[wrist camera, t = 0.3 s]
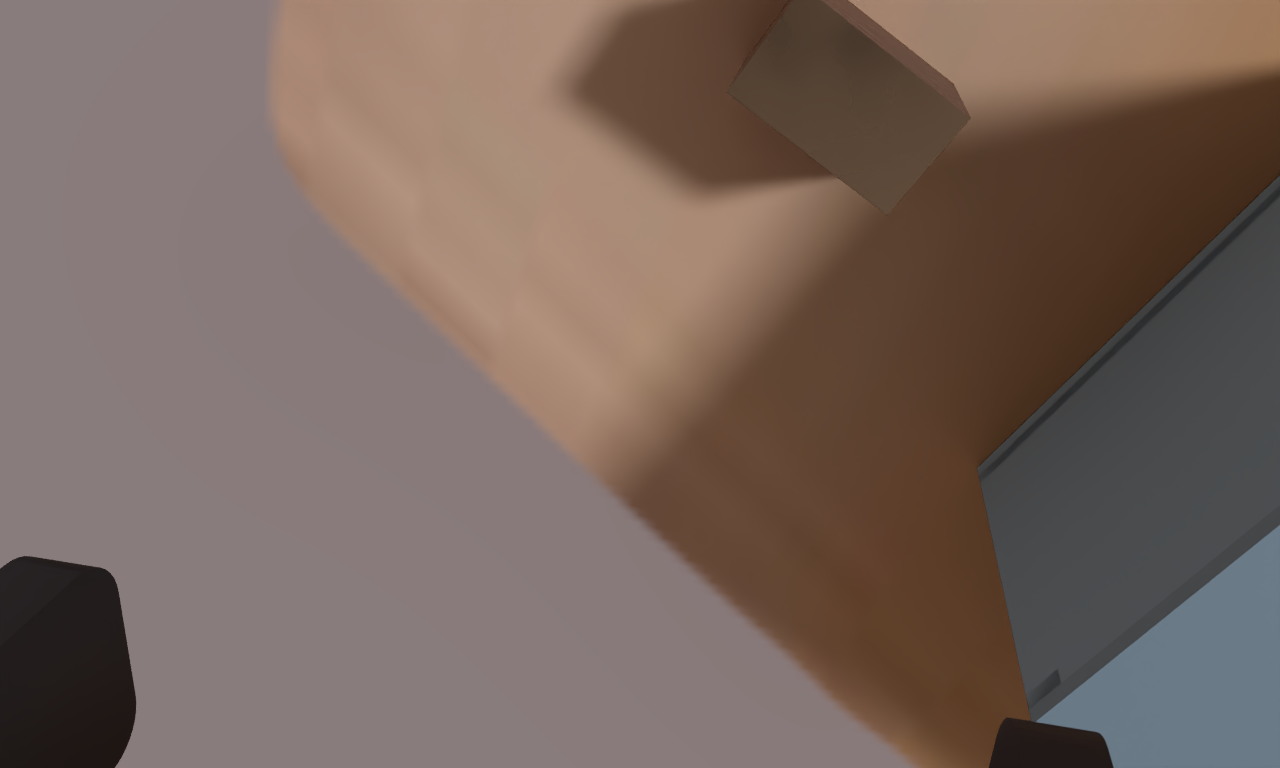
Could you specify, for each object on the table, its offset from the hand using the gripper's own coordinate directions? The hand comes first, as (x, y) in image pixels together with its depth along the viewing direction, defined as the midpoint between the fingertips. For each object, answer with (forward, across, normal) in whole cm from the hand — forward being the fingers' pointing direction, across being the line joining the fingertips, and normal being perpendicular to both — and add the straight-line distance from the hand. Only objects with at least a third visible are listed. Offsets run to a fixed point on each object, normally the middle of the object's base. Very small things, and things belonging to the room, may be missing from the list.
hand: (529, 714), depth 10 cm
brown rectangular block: (+25, -2, -2) cm, 25 cm away
